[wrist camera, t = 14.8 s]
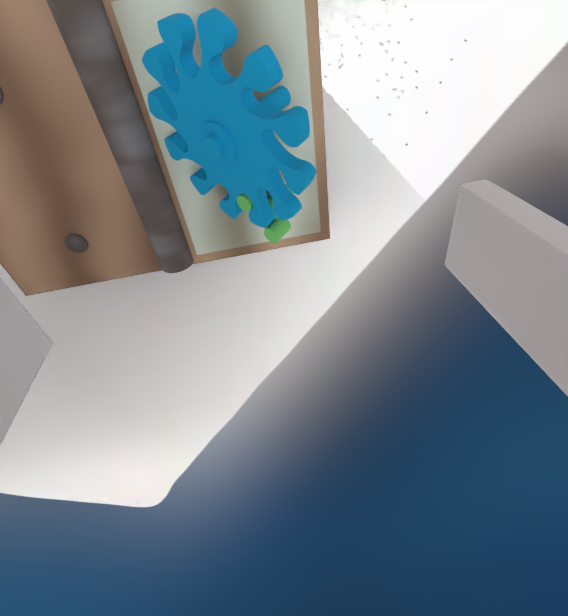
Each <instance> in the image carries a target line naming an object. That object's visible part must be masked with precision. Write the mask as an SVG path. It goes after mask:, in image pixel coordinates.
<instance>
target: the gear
mask: <svg viewBox="0 0 568 616" xmlns="http://www.w3.org/2000/svg"><path fill="white" fill-rule="evenodd" d="M157 24H158V30H159V33H160V36H161V38H162V40H163V41H164V42H162V43H160V44H158V45H156V46H154V47H152V48H150V49H148V50H146V51H145V53H144V55H143V58H142V62H143V65H144V67H145V68H146V70H147V71H148V73H149V74H150V75H151V76H152V77H153V78H155V79H156V80H157V81H158V82H159V84H160V85H161V86H160V87H158V88H156V89H154V90H152V91H151V92H149V93H148V106H149V111H150V112H151V114H152V115H153V116H154V117H156V118H157V119H160V120H163V121H165V122H167V123H168V124H170V125H171V126H172V127H173V128H174V129H175V130H176V132H174V133H173V134H171V135H170V136H168V137H166V138H165V139H164V141H165V144H166V147H167V149H168V152H169V154H170V156H171V157H172V158H173V159H174V160H177V161H179V160H180V159H189V160H192V161H194V162H195V163H197V164H199V165H200V166H201V167H202V168H201V169H199V170H198V171H197V172H195V173H194V174H193V175H191V176H190V180H191V182H192V184H193V185H194V187H195V188H196V189H197V191H198V192H199V193H200V194H201V195H205V194H207V193H208V192H209V191H210V190H211V189H213V188H214V187H215V184H220V185H222V186H223V187H225V188H226V190H227V191H228V193H229V194H228V195H227V196H226V197H225V198H224V199H222V200H221V201H220V203H219V206H220V208H221V209H222V210H223V211H224V212H225V213H226V214H227V215H228V216H230V217H231V218H233V219H235V218H236V217H237V216H238V215H240V214H241V213H242V212H243V211H246V212H249V211H250V212H249V219H250V221H251V222H252V223H253V224H255V225H257V226H259V227H263V228H266V229H265V230H264V235H265V237H266V238H267V240H268V241H270V242H271V243H277V242H278V241H279V240H280V239H281V238H282V237H283V236H284V235H285V234H286V233H287V232H288V231H289V230H290V229H291V224H290V222H289V220H288V219H290V218H292V217H294V216H295V215H296V214H297V213H298V212H299V211H300V210H301V209H302V205H301V202H300V201H299V199H298V198H297V197H296V196H295V195H294V193H295V194H297V195H299V194H301V193H302V192H303V191H304V190H305V189H306V188H307V187H308V186H309V185H310V184H311V183H312V181H313V179H314V177H315V175H316V172H317V170H316V169H315V167H314V166H313V165H312V164H311V163H310V162H308V161H305V160H301V159H299V158H297V157H295V156H294V155H292V154H291V153H289V152H288V151H287V150H286V149H285V148H284V147H283V146H282V145H281V143H280V142H279V141H278V140H277V138H276V137H275V135H274V133H273V131H274V132H275V133H276V134H277V135H278V136H279V138H280V139H281V140H282V141H283V142H284V143H285V144H286V145H287V146H289V147H293V148H295V147H298V146H299V145H301V144H302V143H303V142H304V141H305V140H306V139H307V138H309V134H310V123H309V116H308V111H307V110H306V109H305V108H303V107H301V106H294V107H292V108H291V109H289V110H285V111H281V110H282V109H284V108H285V107H286V106H288V105H289V104H290V102H291V95H290V92H289V91H288V89H287V88H286V87H284V86H279V87H278V88H276V89H275V90H273V91H272V92H271V93H269V94H268V95H266V96H265V97H264V98H262V99H261V100H259V101H257V99H256V98H255V96H254V93H253V89H254V90H256V91H258V92H266V91H267V90H269V89H270V88H272V87H273V86H274V85H276V84H277V83H279V82H280V81H281V80H282V78H283V72H282V69H281V66H280V64H279V62H278V60H277V58H276V56H275V54H274V53H273V51H272V49H271V48H270V46H269V45H264V46H262V47H260V48H258V49H257V50H255V51H253V52H252V53H250V54H249V55H248V56H247V57H246V58H245V61H244V66H243V69H242V72H241V74H240V75H239V77H232V76H230V75H229V74H228V73H227V71H226V70H225V68H224V66H223V62H222V53H223V51H225V50H227V49H228V48H230V47H232V46H233V45H234V44H235V43H236V40H237V27H236V26H235V24H234V23H233V22H232V20H231V19H230V18H229V17H228V16H226V15H225V14H224V13H223V12H221V11H220V10H218V9H216V8H215V7H214V8H212V9H210V10H208V11H206V12H204V13H202V14H200V15H199V16H198V19H197V32H198V36H199V39H200V45H201V65H200V67H199V66H198V65H197V63H196V61H195V59H194V56H193V46H194V42H195V38H196V32H195V27H194V24H193V21H192V19H191V17H190V16H189V15H187V14H184V13H176V14H172V15H170V16H167V17H165V18H163V19H161V20H159V21H157ZM175 66H176V68H175ZM176 69H177V72H176ZM177 73H178V75H177ZM279 170H280V171H281V172H282V174H283V176H284V179H285V182H286V185H285V183H284V182H283V179H282V176H281V174H280V171H279Z"/></svg>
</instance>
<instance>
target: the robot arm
mask: <svg viewBox="0 0 568 616" xmlns="http://www.w3.org/2000/svg"><path fill="white" fill-rule="evenodd" d="M445 266H446V267H447V268H448V269H449V270H450V272H452V274H453V275H454V276H455V277H456V278H457V279H458V280H459V281H460V282H461V283H462V284H463V285H464V286H465V287H466V289H467V290H468V291H469V292H470V293H471V294H472V295H473V296H474V297H475V298H476V299H477V300H478V301H479V302H480V303H481V304H482V305H483V306H484V308H485V309H486V310H487V311H488V312H489V313H490V314H491V315H492V316H493V317H494V318H495V319H496V320H497V321H498V323H499V324H500V325H501V326H502V327H503V328H504V329H505V330H506V331H507V332H508V333H509V334H510V335H511V336H512V337H513V339H514V340H516V342H517V343H518V344H519V345H520V346H521V347H522V348H523V349H524V350H525V351H526V352H527V353H528V354H529V356H531V358H532V359H533V360H534V361H535V362H536V363H537V364H538V365H539V366H540V367H541V368H542V369H543V370H544V371H545V373H546V374H547V375H548V376H549V377H550V378H551V379H552V380H553V381H554V382H555V383H556V384H557V385H558V386H559V387H560V388H561V390H562V391H563V392H564V393H565V394H566V395H567V396H568V226H566V225H564V224H563V223H561V222H559V221H558V220H556V219H554V218H552V217H550V216H549V215H547V214H545V213H544V212H542V211H540V210H539V209H537V208H535V207H533V206H532V205H530V204H528V203H527V202H525V201H523V200H521V199H520V198H518V197H516V196H514V195H513V194H511V193H509V192H508V191H506V190H504V189H502V188H501V187H499V186H497V185H496V184H494V183H492V182H490V181H489V180H481V181H475V182H470V183H465V184H461V185H460V190H459V195H458V200H457V206H456V210H455V215H454V220H453V225H452V230H451V236H450V240H449V245H448V250H447V256H446V261H445ZM51 345H52V341H51V340H50V339H49V338H48V336H47V335H46V334H45V333H44V332H43V330H42V329H41V328H40V327H39V325H38V324H37V323H36V322H35V320H34V319H33V318H32V317H31V315H30V314H29V313H28V312H27V310H26V309H25V308H24V307H23V306H22V304H21V303H20V302H19V301H18V299H17V298H16V297H15V296H14V294H13V293H12V292H11V291H10V289H9V288H8V287H7V286H6V285H5V283H4V282H3V281H2V280H1V278H0V445H1V443H2V441H3V439H4V437H5V435H6V433H7V431H8V429H9V427H10V425H11V423H12V421H13V420H14V418H15V416H16V414H17V412H18V410H19V408H20V406H21V404H22V402H23V400H24V398H25V396H26V394H27V392H28V390H29V388H30V386H31V384H32V382H33V380H34V378H35V377H36V375H37V373H38V371H39V369H40V367H41V365H42V363H43V361H44V359H45V357H46V355H47V353H48V351H49V349H50V347H51Z"/></svg>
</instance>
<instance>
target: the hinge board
mask: <svg viewBox="0 0 568 616" xmlns="http://www.w3.org/2000/svg"><path fill="white" fill-rule="evenodd" d="M214 7H215V8H216V9H218V10H220V11H221V12H223V13H224V14H225V15H226V16H228V17H229V18H230V19H231V20H232V22H233V23H234V24H235V26H236V27H237V40H236V43H235V44H234V45H233V46H232V47H230V48H228V49H227V50H225V51H223V53H222V62H223V66H224V68H225V70H226V71H227V73H228V74H229V75H230V76H232V77H239V75H240V74H241V72H242V69H243V66H244V61H245V58H246V57H247V56H248V55H249V54H250V53H252V52H253V51H255V50H257V49H258V48H260V47H262V46H264V45H269V46H270V48H271V49H272V51H273V53H274V54H275V56H276V58H277V60H278V62H279V64H280V66H281V69H282V72H283V78H282V80H281V81H280V82H279V83H277V84H276V85H274V86H273V87H272V88H270V89H269V90H267V91H266V92H258V91H256V90H254V89H253V93H254V96H255V98H256V99H257V101H259V100H261V99H262V98H264V97H265V96H266V95H268V94H269V93H271V92H272V91H273V90H275V89H276V88H278V87H279V86H284V87H286V88H287V89H288V91H289V92H290V95H291V102H290V104H289V105H288V106H286V107H285V108H284V109H282V110H281V111H285V110H289V109H291V108H292V107H294V106H301V107H303V108H305V109H306V110H307V111H308V116H309V123H310V134H309V138H307V139H306V140H305V141H304V142H303V143H302V144H301V145H299V146H298V147H295V148H293V147H289V146H287V145H286V144H285V143H284V142H283V141H282V140H281V139H280V138H279V136H278V135H277V134H276V133H275V132H274V131H273V133H274V135H275V137H276V138H277V140H278V141H279V142H280V143H281V145H282V146H283V147H284V148H285V149H286V150H287V151H288V152H289V153H291V154H292V155H294V156H295V157H297V158H299V159H301V160H305V161H308V162H310V163H311V164H312V165H313V166H314V167H315V169H316V170H317V172H316V175H315V177H314V179H313V181H312V183H311V184H310V185H309V186H308V187H307V188H306V189H305V190H304V191H303V192H302V193H301V194H299V195H297V194H295V193H294V195H295V196H296V197H297V198H298V199H299V201H300V202H301V205H302V209H301V210H300V211H299V212H298V213H297V214H296V215H295V216H294V217H292V218H290V219H288V220H289V222H290V224H291V229H290V230H289V231H288V232H287V233H286V234H285V235H284V236H283V237H282V238H281V239H280V240H279V241H278V242H277V243H271V242H270V241H268V240H267V238H266V237H265V235H264V230H265V229H266V228H263V227H259V226H257V225H255V224H253V223H252V222H251V221H250V219H249V212H250V211H249V212H246V211H243V212H242V213H241V214H240V215H238V216H237V217H236V218H235V219H233V218H231V217H230V216H228V215H227V214H226V213H225V212H224V211H223V210H222V209H221V208H220V206H219V203H220V201H221V200H222V199H224V198H225V197H226V196H227V195H228V194H229V193H228V191H227V190H226V188H225V187H223V186H222V185H220V184H215V187H214V188H213V189H211V190H210V191H209V192H208V193H207V194H205V195H201V194H200V193H199V192H198V191H197V189H196V188H195V187H194V185H193V184H192V182H191V180H190V176H191V175H193V174H194V173H195V172H197V171H198V170H199V169H201V168H202V167H201V166H200V165H199V164H197V163H195V162H194V161H192V160H189V159H180V160H179V161H177V160H174V159H173V158H172V157H171V156H170V154H169V152H168V149H167V147H166V144H165V141H164V139H165V138H166V137H168V136H170V135H171V134H173V133H174V132H176V130H175V129H174V128H173V127H172V126H171V125H170V124H168V123H167V122H165V121H163V120H160V119H157V118H156V117H154V116H153V115H152V114H151V112H150V111H149V106H148V93H149V92H151V91H152V90H154V89H156V88H158V87H160V86H161V85H160V84H159V82H158V81H157V80H156V79H155V78H153V77H152V76H151V75H150V74H149V73H148V71H147V70H146V68H145V67H144V65H143V62H142V58H143V55H144V53H145V51H146V50H148V49H150V48H152V47H154V46H156V45H158V44H160V43H162V42H164V41H163V40H162V38H161V36H160V33H159V30H158V24H157V21H159V20H161V19H163V18H165V17H167V16H170V15H172V14H176V13H184V14H187V15H189V16H190V17H191V19H192V21H193V24H194V27H195V32H196V38H195V42H194V46H193V56H194V59H195V61H196V63H197V65H198V66H199V67H200V65H201V45H200V39H199V36H198V32H197V19H198V16H199V15H200V14H202V13H204V12H206V11H208V10H210V9H212V8H214ZM175 68H176V66H175ZM176 72H177V69H176ZM177 75H178V73H177ZM279 171H280V170H279ZM280 174H281V176H282V179H283V182H284V183H285V185H286V182H285V179H284V176H283V174H282V172H281V171H280ZM329 238H330V232H329V213H328V194H327V174H326V155H325V136H324V117H323V98H322V79H321V59H320V40H319V21H318V2H317V0H0V263H1V265H2V266H3V267H4V269H5V270H6V271H7V272H8V274H9V275H10V276H11V278H12V279H13V280H14V281H15V283H16V284H17V285H18V286H19V288H20V289H21V290H22V292H23V293H24V294H25V295H26V296H27V295H32V294H38V293H43V292H48V291H54V290H59V289H64V288H69V287H75V286H80V285H85V284H91V283H96V282H101V281H107V280H112V279H117V278H123V277H128V276H133V275H138V274H144V273H149V272H154V271H160V270H163V271H165V272H168V273H175V272H180V271H183V270H185V269H187V268H188V267H190V266H191V265H192V264H197V263H202V262H207V261H213V260H218V259H223V258H229V257H234V256H239V255H244V254H250V253H255V252H260V251H266V250H271V249H276V248H282V247H287V246H292V245H297V244H303V243H308V242H313V241H319V240H324V239H329Z"/></svg>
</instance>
